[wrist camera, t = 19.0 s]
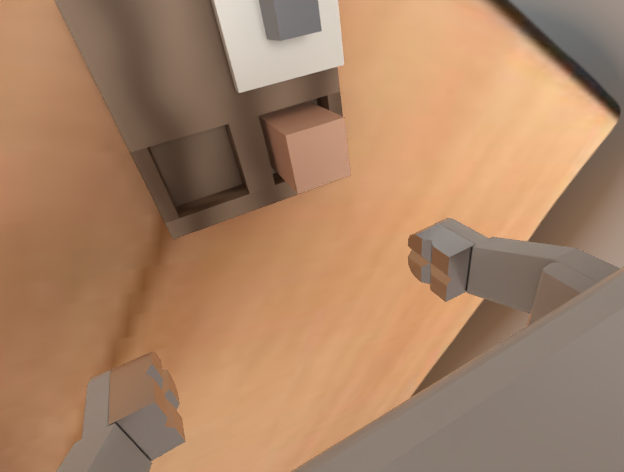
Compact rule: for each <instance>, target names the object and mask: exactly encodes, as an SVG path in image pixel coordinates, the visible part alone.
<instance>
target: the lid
mask: <svg viewBox="0 0 624 472" xmlns="http://www.w3.org/2000/svg"><path fill="white" fill-rule="evenodd" d="M211 2H212V6H213V9H214V13H215V17H216V20H217V24H218V28H219V31H220V35H221V38H222V42H223V46H224V49H225V53H226V56H227V60H228V64H229V67H230V71H231V75H232V78H233V82H234V85H235V89H236V91H237V92H238V93H241V92H245V91H249V90H253V89H256V88H260V87H264V86H267V85H271V84H275V83H279V82H282V81H286V80H290V79H293V78H297V77H301V76H305V75H308V74H312V73H316V72H319V71H323V70H327V69H331V68H334V67H338V66H342V65H344V57H343V47H342V37H341V26H340V16H339V6H338V0H211Z"/></svg>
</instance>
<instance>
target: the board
mask: <svg viewBox="0 0 624 472" xmlns="http://www.w3.org/2000/svg"><path fill="white" fill-rule="evenodd" d="M55 2H56V4H57V6H58V8H59V10H60V12H61V14H62V17H63V19H64V21H65V23H66V25H67V27H68V29H69V31H70V33H71V35H72V37H73V39H74V41H75V43H76V45H77V47H78V49H79V51H80V53H81V55H82V57H83V59H84V61H85V63H86V65H87V67H88V69H89V71H90V73H91V75H92V77H93V79H94V81H95V83H96V85H97V87H98V89H99V91H100V93H101V95H102V97H103V99H104V101H105V103H106V105H107V107H108V109H109V111H110V113H111V115H112V117H113V119H114V121H115V123H116V125H117V127H118V129H119V131H120V133H121V135H122V137H123V139H124V141H125V144H126V146H127V148H128V150H129V152H130V154H131V156H132V158H133V160H134V162H135V164H136V166H137V168H138V170H139V172H140V174H141V176H142V178H143V180H144V182H145V184H146V186H147V188H148V190H149V192H150V194H151V196H152V198H153V200H154V202H155V204H156V206H157V208H158V210H159V212H160V214H161V216H162V218H163V220H164V222H165V224H166V226H167V228H168V230H169V232H170V234H171V236H172V238H173V239H176V238H178V237H181V236H184V235H187V234H190V233H192V232H195V231H198V230H201V229H203V228H206V227H209V226H212V225H214V224H217V223H220V222H223V221H226V220H228V219H231V218H234V217H237V216H239V215H242V214H245V213H248V212H250V211H253V210H256V209H259V208H261V207H264V206H267V205H270V204H273V203H275V202H278V201H281V200H284V199H286V198H289V197H292V196H295V195H297V193H296V192H295V191H294V190H293V189H292V188H291V187H290V185H289V184H288V183H287V182H286V181H285V180H284V179H283V178H282V177H281V176H280V175H279V174H278V173H277V172H276V171H275V170H274V169H273V168H272V167H271V163H270V159H269V155H268V151H267V147H266V143H265V139H264V135H263V131H262V127H261V123H260V119H259V116H261V115H264V114H268V113H271V112H274V111H278V110H281V109H285V108H288V107H292V106H295V105H299V104H302V103H305V102H311V103H313V104H316V105H318V106H320V107H322V108H325V109H327V110H329V111H331V112H334V113H336V114H338V115H341V116H343V115H342V105H341V96H340V87H339V78H338V69H337V67H334V68H331V69H327V70H323V71H319V72H316V73H312V74H308V75H305V76H301V77H297V78H293V79H290V80H286V81H282V82H279V83H275V84H271V85H267V86H264V87H260V88H256V89H253V90H249V91H245V92H241V93H238V92H237V91H236V89H235V85H234V82H233V78H232V75H231V71H230V67H229V64H228V60H227V56H226V53H225V49H224V46H223V42H222V38H221V35H220V31H219V28H218V24H217V20H216V17H215V13H214V9H213V6H212V2H211V0H55ZM344 178H345V177H344ZM319 187H320V186H319ZM308 191H309V190H308Z"/></svg>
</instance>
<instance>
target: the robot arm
mask: <svg viewBox="0 0 624 472" xmlns="http://www.w3.org/2000/svg"><path fill="white" fill-rule="evenodd" d="M408 246H409V247H410V248H411V249H412V250H411V252H410V254H409V256H408V265H409V267H410V270H411V272H412V273H413V275H414V276H415V277H416V278H417V279H418V280H419V281H420V282H423V283H428V284H430V289H431V291H433V292H434V293H435V294H436V295H438V296H439V297H440V298H441V299H443V300H444V301H445V302H446V301H448V300H451V299H453V298H455V297H457V296H459V295H461V294H463V293H465V292H467V293H469V294H472V295H475V296H478V297H481V298H484V299H487V300H490V301H494V302H497V303H499V304H503V305H506V306H508V307H511V308H515V309H517V310H520V311H524V312H526V313H530V315H529V319H528V323H527V327H525V328H523V329H522V330H520V331H519V332H517V333H515V334H514V335H512V336H510V337H509V338H507V339H506V340H504V341H502V342H501V343H499V344H497V345H496V346H494V347H492V348H491V349H490V350H488V351H486V352H484V353H483V354H481V355H479V356H478V357H476V358H475V359H473V360H471V361H470V362H468V363H467V364H465V365H463V366H462V367H460V368H458V369H457V370H455V371H453V372H452V373H450V374H449V375H447V376H445V377H444V378H442V379H441V380H439V381H437V382H435V383H434V384H432V385H431V386H429V387H427V388H426V389H424V390H422V391H421V392H419V393H418V394H416V395H415V396H413V397H411V398H409V399H408V400H406V401H405V402H403V403H401V404H400V405H398V406H396V407H395V408H393V409H392V410H390V411H388V412H387V413H385V414H384V415H382V416H380V417H379V418H377V419H375V420H374V421H372V422H371V423H369V424H367V425H366V426H364V427H362V428H361V429H359V430H358V431H356V432H354V433H353V434H351V435H349V436H348V437H346V438H345V439H343V440H341V441H340V442H338V443H336V444H335V445H333V446H332V447H330V448H328V449H327V450H325V451H323V452H322V453H320V454H319V455H317V456H315V457H314V458H312V459H310V460H309V461H307V462H306V463H304V464H302V465H301V466H299V467H297V468H296V469H294V470H293V471H291V472H624V267H623V268H621V269H620V268H618V267H616V266H614V265H612V264H609V263H607V262H605V261H603V260H601V259H599V258H596V257H594V256H592V255H590V254H588V253H586V252H584V251H581V250H579V249H577V248H571V247H564V246H556V245H549V244H541V243H534V242H527V241H520V240H512V239H505V238H498V237H491V238H487V237H485V236H483V235H482V234H480V233H478V232H476V231H474V230H472V229H471V228H469V227H467V226H465V225H463V224H461V223H460V222H458V221H456V220H454V219H452V218H446V219H444V220H442V221H439V222H437V223H435V224H434V225H431V226H429V227H427V228H425V229H423V230H420V231H418V232H416V233H414V234H412V235H410V237H409V239H408ZM178 406H179V397H178V393H177V389H176V386H175V383H174V381H173V379H172V377H171V375H170V373H169V372H168V370H165V369H162V366H161V360H160V358H159V357H158V356H157V354H156V353H155V352H150V353H148V354H145V355H143V356H141V357H138V358H136V359H134V360H131V361H129V362H127V363H124V364H122V365H120V366H117V367H115V368H112V369H111V370H109V371H107V372H104V373H102V374H99V375H97V376H95V377H92V378H91V379H90V381H89V382H88V385H87V394H86V404H85V414H84V424H83V433H82V439H81V440H79V441H77V442H75V443H74V445H73V447H72V448H71V450H70V451H69V453H68V454H67V456H66V457H65V459H64V460H63V462H62V463H61V465H60V466H59V468H58V469H57V471H56V472H149V470H150V467H151V464H152V462H151V461H152V460H154V459H156V458H157V457H159V456H161V455H163V454H165V453H166V452H168V451H170V450H172V449H173V448H175V447H177V446H179V445H180V444H182V443H184V442H185V435H184V429H183V422H182V418H181V416H180V415H179V413H178V412H177V408H178Z"/></svg>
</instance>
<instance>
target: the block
mask: <svg viewBox="0 0 624 472" xmlns="http://www.w3.org/2000/svg"><path fill="white" fill-rule="evenodd" d="M259 119H260V123H261V127H262V131H263V135H264V139H265V143H266V147H267V151H268V155H269V159H270V163H271V167H272V168H273V169H274V170H275V171H276V172H277V173H278V174H279V175H280V176H281V177H282V178H283V179H284V180H285V181H286V182H287V183H288V184H289V185H290V187H291V188H292V189H293V190H294V191H295V192H296V193H297V194H300V193H303V192H306V191H308V190H311V189H314V188H317V187H319V186H322V185H325V184H328V183H331V182H333V181H336V180H339V179H342V178H344V177H347V176H350V175H351V173H350V164H349V154H348V145H347V135H346V126H345V117H343V116H341V115H338V114H336V113H334V112H331V111H329V110H327V109H325V108H322V107H320V106H318V105H316V104H313V103H311V102H305V103H302V104H299V105H295V106H292V107H288V108H285V109H281V110H278V111H274V112H271V113H268V114H264V115H261V116H259Z"/></svg>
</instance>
